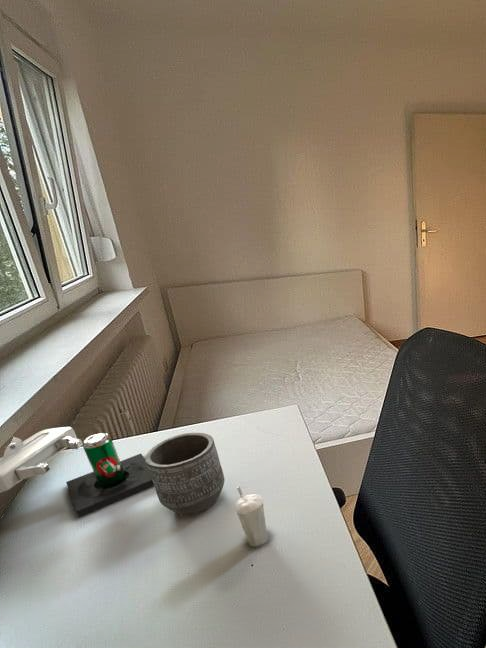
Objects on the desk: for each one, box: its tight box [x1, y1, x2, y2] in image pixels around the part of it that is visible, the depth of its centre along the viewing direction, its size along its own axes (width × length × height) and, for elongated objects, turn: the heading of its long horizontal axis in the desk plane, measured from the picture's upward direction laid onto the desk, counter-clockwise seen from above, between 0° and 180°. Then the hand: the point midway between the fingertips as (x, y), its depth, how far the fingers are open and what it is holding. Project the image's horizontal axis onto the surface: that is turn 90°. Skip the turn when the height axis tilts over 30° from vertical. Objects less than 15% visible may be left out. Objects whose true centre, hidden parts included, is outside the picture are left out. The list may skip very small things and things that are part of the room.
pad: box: [66, 453, 155, 518], centre depth 96 cm, size 15×14×2 cm
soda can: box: [82, 432, 128, 489], centre depth 94 cm, size 5×5×12 cm
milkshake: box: [234, 486, 268, 548], centre depth 77 cm, size 4×5×10 cm
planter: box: [144, 432, 226, 517], centre depth 87 cm, size 12×12×13 cm
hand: (63, 455), depth 94 cm, fingers open, 8 cm apart
